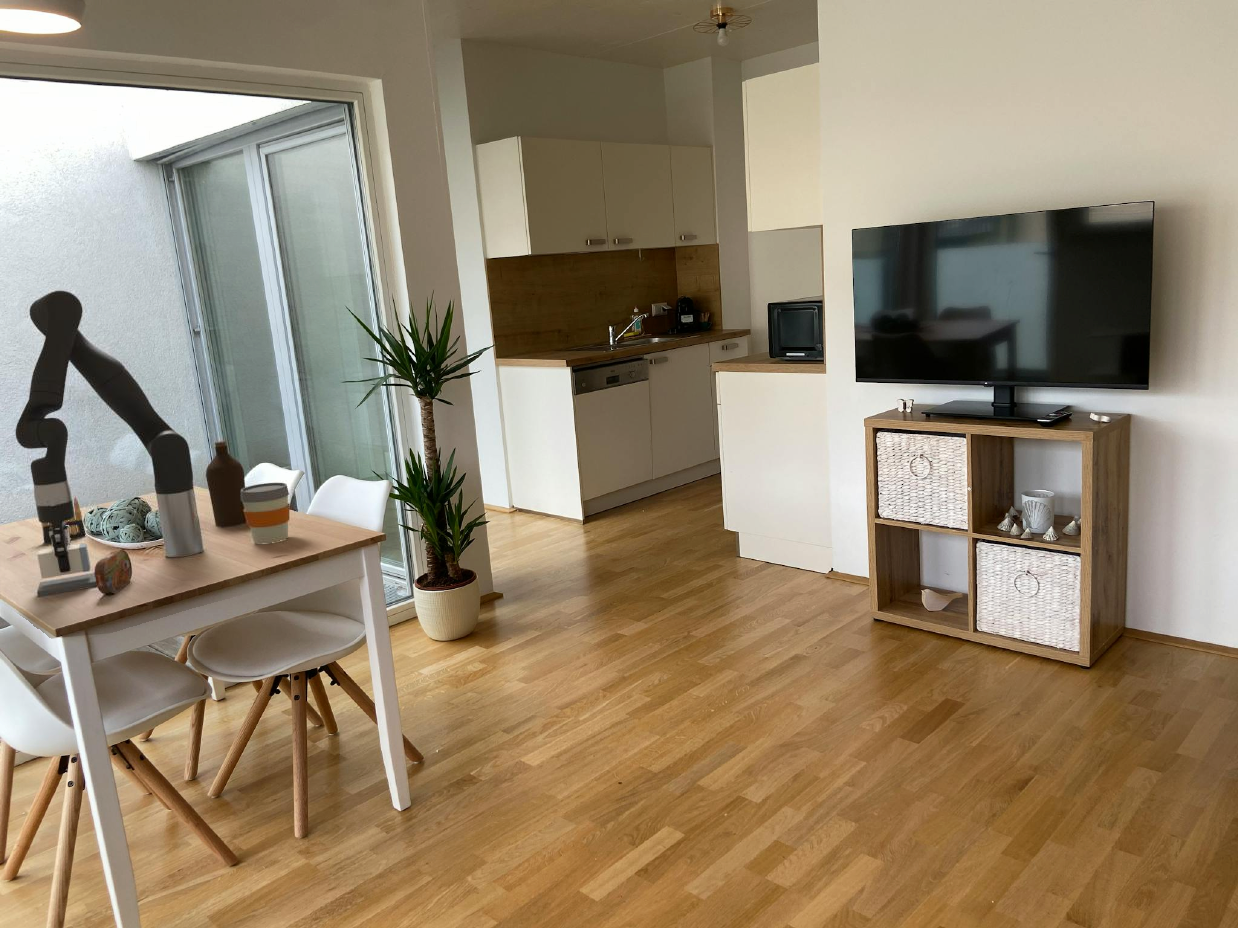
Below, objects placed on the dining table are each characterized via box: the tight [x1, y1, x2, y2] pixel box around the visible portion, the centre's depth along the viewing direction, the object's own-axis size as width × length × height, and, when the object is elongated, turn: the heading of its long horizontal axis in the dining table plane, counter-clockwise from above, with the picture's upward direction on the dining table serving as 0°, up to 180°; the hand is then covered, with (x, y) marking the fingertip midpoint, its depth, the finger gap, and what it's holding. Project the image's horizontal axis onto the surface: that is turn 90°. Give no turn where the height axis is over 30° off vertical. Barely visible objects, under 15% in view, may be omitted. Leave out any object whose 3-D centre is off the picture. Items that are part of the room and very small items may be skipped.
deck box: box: [37, 542, 91, 580], centre depth 229 cm, size 5×10×6 cm, turn 117°
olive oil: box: [205, 440, 247, 527], centre depth 284 cm, size 11×11×25 cm
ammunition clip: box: [40, 497, 87, 544], centre depth 277 cm, size 11×2×12 cm, turn 128°
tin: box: [93, 549, 133, 595], centre depth 225 cm, size 15×3×8 cm, turn 7°
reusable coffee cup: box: [241, 482, 290, 544], centre depth 261 cm, size 13×13×15 cm
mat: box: [36, 572, 98, 598], centre depth 229 cm, size 13×9×1 cm
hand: (65, 568), depth 229 cm, fingers closed on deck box, 4 cm apart
